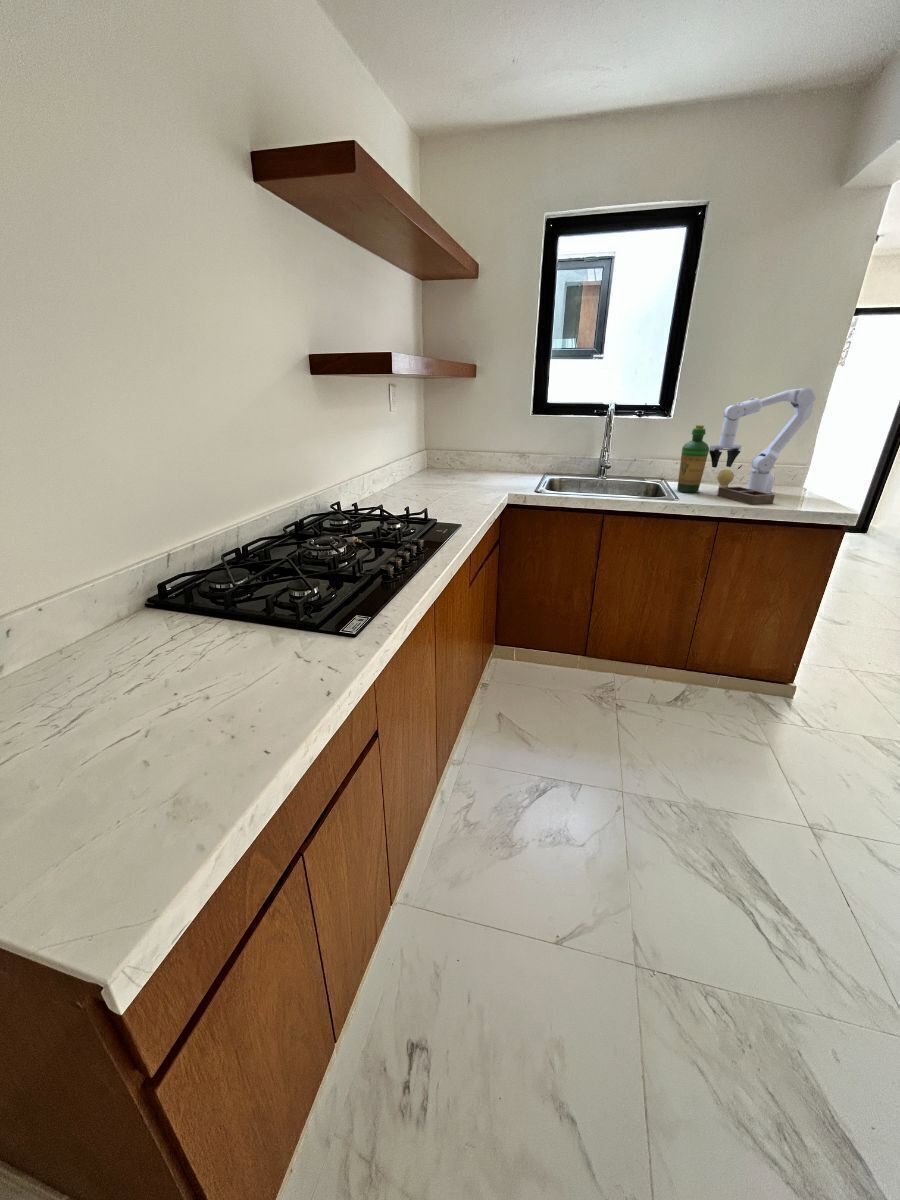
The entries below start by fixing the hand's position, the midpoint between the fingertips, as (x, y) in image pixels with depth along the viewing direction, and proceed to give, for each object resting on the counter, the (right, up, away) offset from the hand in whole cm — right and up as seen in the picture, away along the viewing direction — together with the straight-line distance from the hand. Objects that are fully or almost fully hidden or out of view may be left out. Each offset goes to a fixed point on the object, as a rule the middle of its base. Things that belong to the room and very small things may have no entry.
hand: (721, 467), depth 221 cm
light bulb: (0, -12, 0) cm, 12 cm away
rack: (+2, -17, -14) cm, 22 cm away
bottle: (-14, -11, +1) cm, 18 cm away
